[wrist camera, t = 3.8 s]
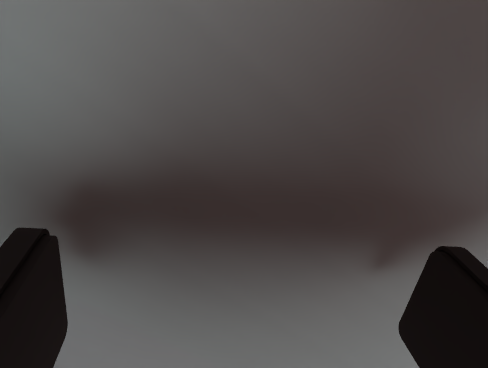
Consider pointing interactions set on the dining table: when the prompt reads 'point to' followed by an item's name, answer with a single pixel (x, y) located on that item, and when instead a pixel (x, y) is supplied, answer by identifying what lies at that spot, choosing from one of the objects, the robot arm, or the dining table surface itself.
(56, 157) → the dining table surface
